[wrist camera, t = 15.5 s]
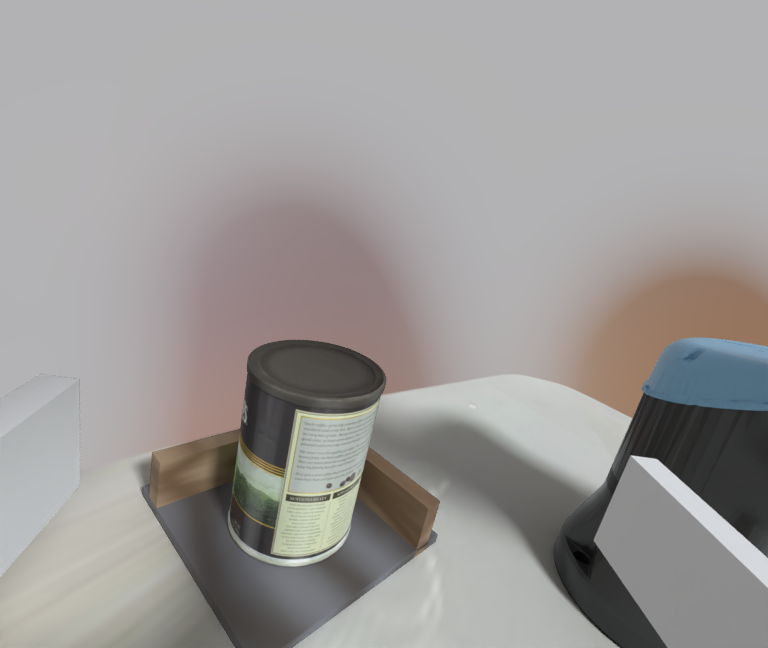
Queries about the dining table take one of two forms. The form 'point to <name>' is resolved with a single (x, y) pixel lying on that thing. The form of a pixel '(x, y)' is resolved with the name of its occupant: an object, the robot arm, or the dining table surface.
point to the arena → (270, 582)
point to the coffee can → (302, 449)
